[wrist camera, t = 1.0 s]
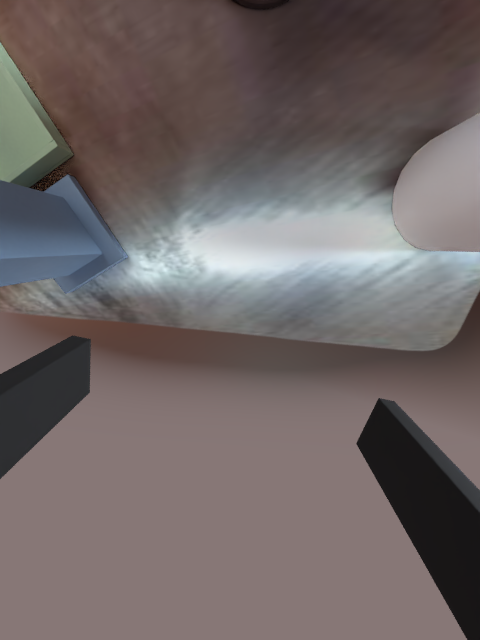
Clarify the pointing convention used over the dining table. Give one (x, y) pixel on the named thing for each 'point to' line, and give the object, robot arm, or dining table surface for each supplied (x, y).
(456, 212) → the canister
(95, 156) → the dining table surface
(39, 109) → the tray
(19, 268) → the stand
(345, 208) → the dining table surface
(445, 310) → the dining table surface
